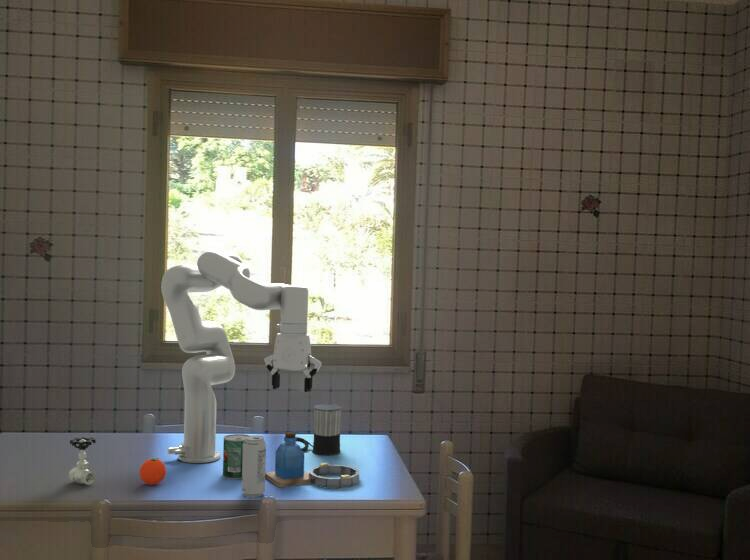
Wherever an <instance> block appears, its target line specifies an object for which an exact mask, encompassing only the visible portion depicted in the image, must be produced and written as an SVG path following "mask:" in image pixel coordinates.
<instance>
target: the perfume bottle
mask: <svg viewBox="0 0 750 560" xmlns="http://www.w3.org/2000/svg"><path fill="white" fill-rule="evenodd" d="M296 434H297V432H296V431H286V432H284V437H283V441H284V443H280V444H279V446H278V448H276V450H275V454H274V455H275V458H274V461H275V462H274V465H275V466H274V471H275V474H276V475H278V476H279V477H280V478H282V479H291V478H300V477H304V471H305V454H304V452H303V451H302V450H301V448H302V447H301V445H299V444H298V445H297V442H296V443H295V441H296V437H297V435H296Z"/></svg>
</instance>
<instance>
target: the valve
mask: <svg viewBox="0 0 750 560" xmlns="http://www.w3.org/2000/svg"><path fill="white" fill-rule="evenodd" d="M96 442H97V440H96V438H94V436H93V437H87V436H82V437H81V438H79V437H74V438H73V439H69V445H71V446H74V448H76V449H78V450H79V451H80V452H79V453H78V459H79V460H78V461H77V462H76V466H74V467H72V469H71V470H70V471H69V473H68V479H69V480H71V481H73V482H75V483H77V484H79V485H88V486H91V485H92V484H93V483H94V482H95V481H96V473H95V472H93V471H90V470H89V469H88V467H89V462H88V461H87V459H86V458H87V452H86V450H87V449H88V448H89V447H90V446H92V444H96Z"/></svg>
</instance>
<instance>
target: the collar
mask: <svg viewBox="0 0 750 560" xmlns="http://www.w3.org/2000/svg"><path fill="white" fill-rule="evenodd" d="M308 474H309V478H311V483H310V484H311V485H313V484H314V485H313V486H315V485H317V487H320V486H321V487H320V488H324V487H326V488H327V487H330V488H329V489H345V488H350V487H353V486H356V485H358V484H360V470H359V469H357V468H356V467H353V466H348V465H344V464H329V463H328V462H321V463H319V465H317V466H314V467H312V468H310V469H309V472H308ZM319 475H320V476H319ZM327 475H340V476H339V477H325V476H327Z"/></svg>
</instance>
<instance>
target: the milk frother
mask: <svg viewBox="0 0 750 560" xmlns="http://www.w3.org/2000/svg"><path fill="white" fill-rule="evenodd" d="M313 408H314V414H313V416H314V417H313V418H314V419H313V420H314V421H313V443H312V444H313V445H312V444H311V443H310V442H309V441H308V440H306V439H304V438H303V437H299V436H298V437H297V436H295V437H296V441H295V443H296V444H297V443H299V442H300V443H301V444H303V445H304V447H300V448H301V450H302V451H303V453H304V452H306V451H307V450H308V449H309V447H310V446H311V447H312V449H311V452H312V453H314V454H316V455H321V456H333V455H338V454H340V453H341V451H342V450H341V425H342V423H341V421H342V419H341V418H342V408H343V407H342V405H339V404H333V403H322V404H316V405H314V406H313ZM297 445H299V444H297Z"/></svg>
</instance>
